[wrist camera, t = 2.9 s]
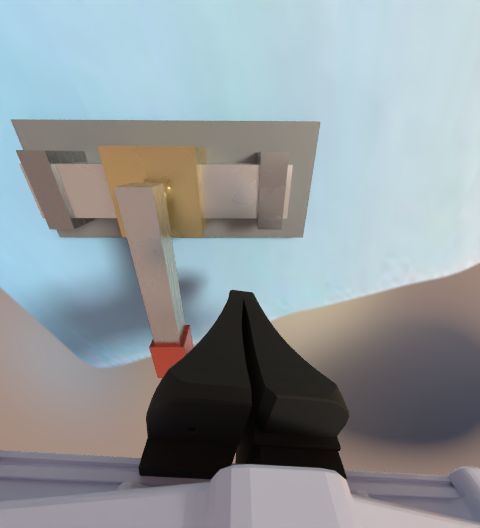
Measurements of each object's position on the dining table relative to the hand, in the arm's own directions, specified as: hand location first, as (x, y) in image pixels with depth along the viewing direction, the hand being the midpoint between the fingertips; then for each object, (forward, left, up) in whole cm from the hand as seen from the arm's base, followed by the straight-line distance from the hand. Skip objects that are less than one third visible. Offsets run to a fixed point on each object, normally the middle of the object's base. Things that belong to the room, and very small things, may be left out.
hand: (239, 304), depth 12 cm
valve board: (-4, +6, -6) cm, 9 cm away
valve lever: (-4, +1, -1) cm, 4 cm away
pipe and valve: (-4, +6, -6) cm, 9 cm away
